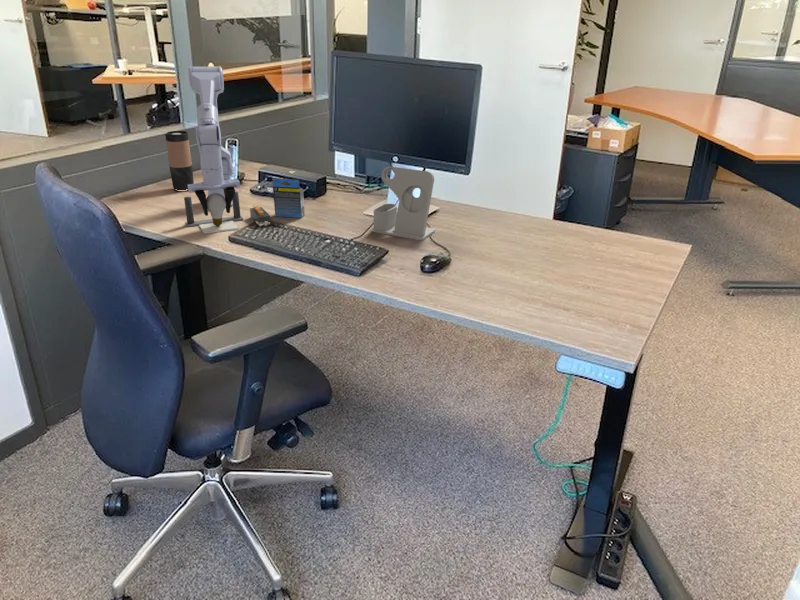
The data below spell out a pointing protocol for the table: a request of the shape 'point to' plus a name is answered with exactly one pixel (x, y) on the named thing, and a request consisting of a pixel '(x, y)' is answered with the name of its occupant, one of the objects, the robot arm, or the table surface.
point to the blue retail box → (288, 198)
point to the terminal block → (259, 214)
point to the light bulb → (216, 207)
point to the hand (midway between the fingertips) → (217, 213)
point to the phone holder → (406, 205)
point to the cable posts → (191, 221)
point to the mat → (218, 227)
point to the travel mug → (179, 159)
